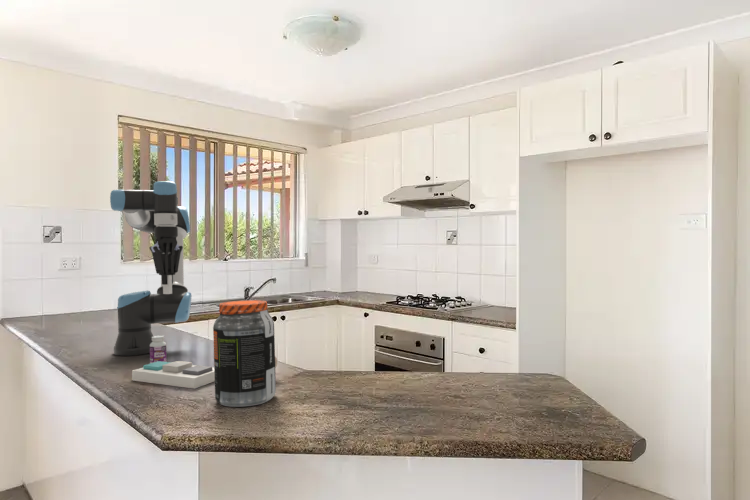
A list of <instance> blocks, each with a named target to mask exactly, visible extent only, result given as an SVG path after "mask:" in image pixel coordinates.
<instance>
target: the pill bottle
mask: <svg viewBox="0 0 750 500" xmlns="http://www.w3.org/2000/svg"><path fill="white" fill-rule="evenodd" d="M164 340H165V335H153V337H152V341H153V342H152V343H151V344H150V353H149V364H150V363H154V362H158V361H161V362H168V361H167V357H168V355H167V342H166V341H164Z"/></svg>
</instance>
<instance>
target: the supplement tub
mask: <svg viewBox="0 0 750 500" xmlns="http://www.w3.org/2000/svg"><path fill="white" fill-rule="evenodd" d="M218 308H219V309H218V311H219V315H218V317H217V318H216V319H215V320H214V323H213V327H212V330H213V331H212V333H213V367H214V373H215V381H214V396H215V400H216V401H217V403H218V404H219V405H221V406H225V407H233V408H236V407H238V408H239V407H241V408H242V407H251V406H253V407H254V406H258V405H262V404H264V403H267V402H269V401H271V399H273V397H274V396H275V395H276V389H277V387H276V385H277V384H276V383H277V382H276V368H275V357H276V352H275V351H276V348H275V347H276V346H275V345H276V343H275V321H274V319H273V317H272V316H271V315H270V313H269V307H268V302H267V301H266V300H259V299H254V300H253V299H251V300H246V299H245V300H234V301H233V300H232V301H225V302H220V303H219V307H218Z"/></svg>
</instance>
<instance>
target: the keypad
mask: <svg viewBox="0 0 750 500" xmlns="http://www.w3.org/2000/svg"><path fill="white" fill-rule="evenodd" d="M193 366H196V364H195V365H194V364H192V367H193ZM211 367H212V371H210V372H207V373H204V374H201V375H190V374H183V371H182V372H179V373H173V372H164V371H163V369H162V370H159V371H155V370H147V369H144V367H140V368H136V369H133V370H131V380H132V381H134V382H135V381H136V382H142V383H143V382H144V383H151V384H157V385H166V386H173V387H179V388H181V387H182V388H187V389H188V388H189V389H197V388H201V387H203V386H205V385H208V384H211V383H215V373H214V366H211Z"/></svg>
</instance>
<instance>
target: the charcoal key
mask: <svg viewBox="0 0 750 500" xmlns="http://www.w3.org/2000/svg"><path fill="white" fill-rule="evenodd" d="M212 367H213V366H209V365H208V366H206V365H199V364H198V365H196V364H195V366H193V367H190V368H187V369H183V370H182V371H183V374H190V375H201V374H204V373H207V372H210V371H212Z"/></svg>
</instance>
